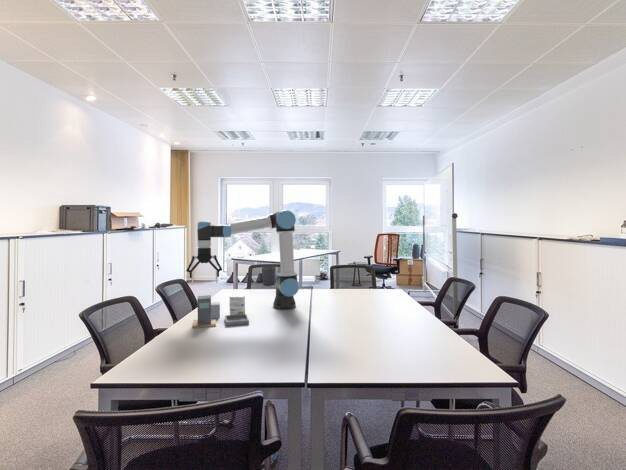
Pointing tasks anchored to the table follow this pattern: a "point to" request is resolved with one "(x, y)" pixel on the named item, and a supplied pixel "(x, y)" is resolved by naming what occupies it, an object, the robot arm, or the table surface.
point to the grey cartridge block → (215, 310)
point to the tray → (236, 320)
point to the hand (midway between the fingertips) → (204, 283)
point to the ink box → (237, 305)
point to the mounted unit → (204, 313)
